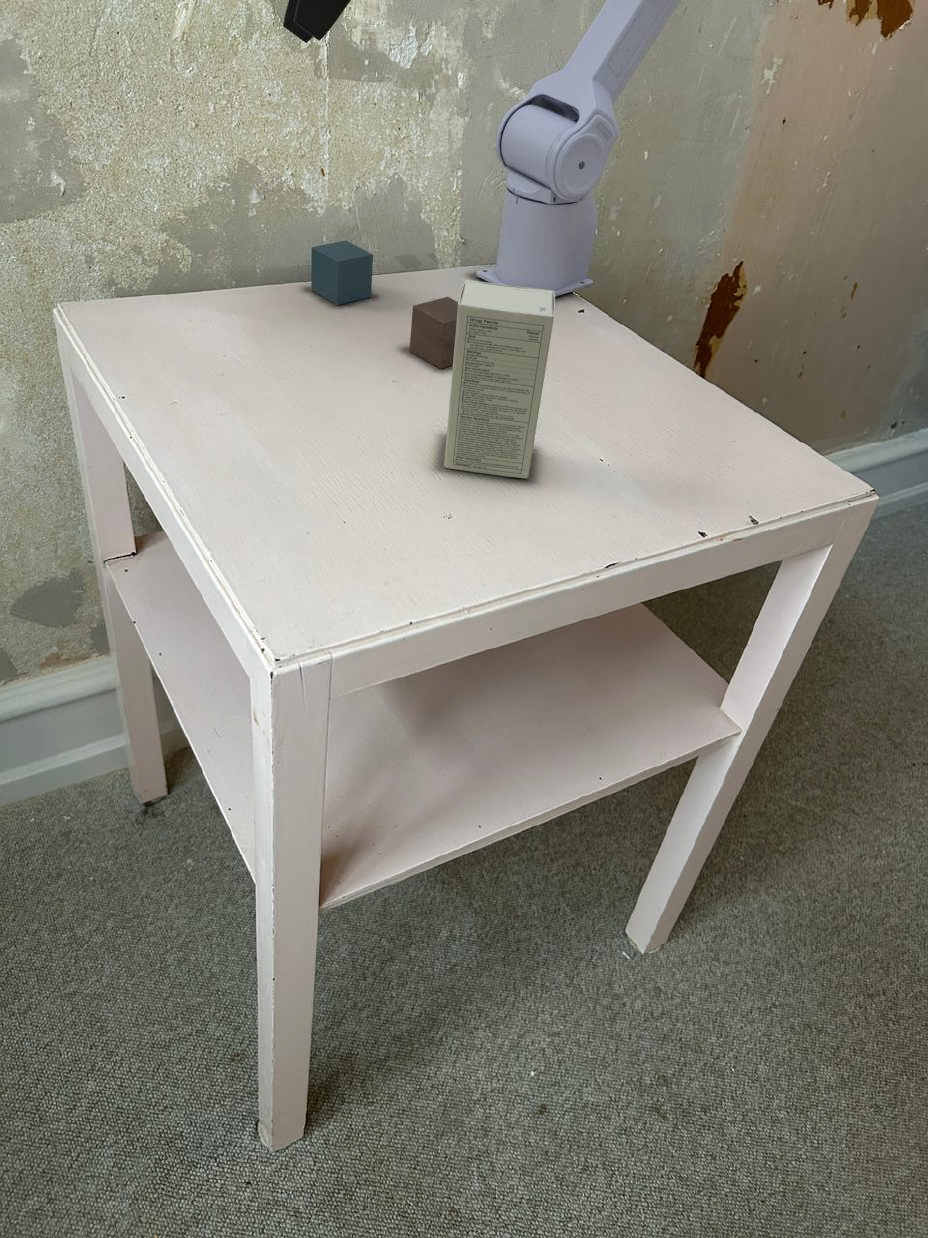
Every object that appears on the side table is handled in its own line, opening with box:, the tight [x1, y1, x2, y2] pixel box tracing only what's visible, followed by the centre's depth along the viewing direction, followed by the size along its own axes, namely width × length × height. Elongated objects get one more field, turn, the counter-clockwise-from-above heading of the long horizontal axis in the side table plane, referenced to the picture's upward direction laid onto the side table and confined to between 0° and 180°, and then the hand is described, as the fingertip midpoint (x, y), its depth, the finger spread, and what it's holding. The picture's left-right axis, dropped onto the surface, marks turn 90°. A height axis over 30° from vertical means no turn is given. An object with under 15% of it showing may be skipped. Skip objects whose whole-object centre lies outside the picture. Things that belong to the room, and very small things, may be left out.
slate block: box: [310, 240, 374, 306], centre depth 87 cm, size 4×4×4 cm
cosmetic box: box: [443, 279, 556, 479], centre depth 64 cm, size 6×4×12 cm
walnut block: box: [409, 296, 459, 370], centre depth 79 cm, size 4×4×4 cm
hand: (300, 33), depth 69 cm, fingers open, 7 cm apart
